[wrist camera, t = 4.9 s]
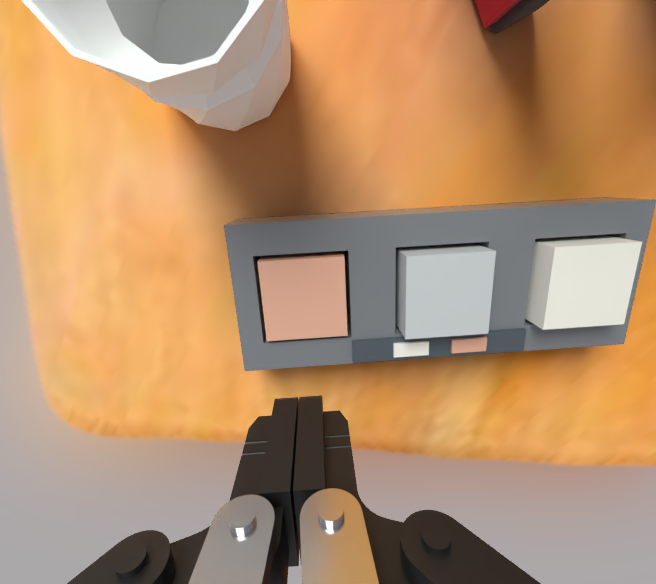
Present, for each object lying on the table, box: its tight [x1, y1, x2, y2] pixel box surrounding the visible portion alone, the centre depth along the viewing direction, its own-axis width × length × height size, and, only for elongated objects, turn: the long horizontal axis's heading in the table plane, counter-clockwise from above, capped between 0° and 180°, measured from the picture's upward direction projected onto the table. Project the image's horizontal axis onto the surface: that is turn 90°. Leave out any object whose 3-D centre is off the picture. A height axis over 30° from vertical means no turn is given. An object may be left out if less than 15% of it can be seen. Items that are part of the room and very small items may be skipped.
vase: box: [22, 0, 291, 131], centre depth 16 cm, size 9×9×12 cm
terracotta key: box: [257, 251, 348, 341], centre depth 24 cm, size 5×5×3 cm
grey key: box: [395, 243, 496, 339], centre depth 23 cm, size 5×5×3 cm
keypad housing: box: [224, 197, 656, 371], centre depth 24 cm, size 27×10×4 cm, turn 93°
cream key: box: [525, 235, 642, 330], centre depth 23 cm, size 5×5×3 cm
